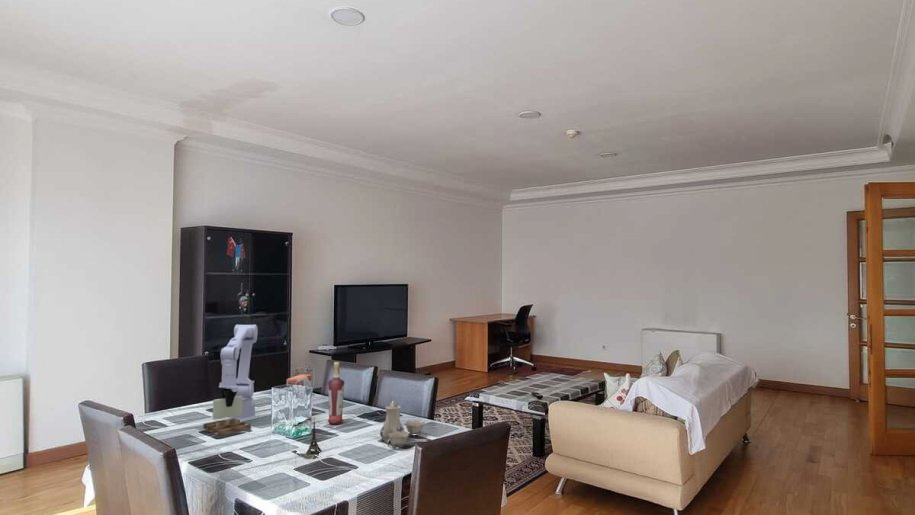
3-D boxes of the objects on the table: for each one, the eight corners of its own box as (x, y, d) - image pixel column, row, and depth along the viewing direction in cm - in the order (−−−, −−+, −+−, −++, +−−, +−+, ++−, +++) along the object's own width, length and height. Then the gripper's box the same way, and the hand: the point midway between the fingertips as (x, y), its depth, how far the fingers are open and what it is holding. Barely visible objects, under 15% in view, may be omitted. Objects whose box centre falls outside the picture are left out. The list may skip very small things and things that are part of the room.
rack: (234, 423, 242) (235, 417, 242) (250, 430, 231) (251, 424, 231) (203, 429, 232) (203, 423, 232) (218, 437, 221) (218, 430, 221)
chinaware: (406, 456, 205) (411, 413, 206) (366, 448, 209) (371, 406, 209) (426, 436, 233) (430, 398, 233) (390, 429, 236) (394, 392, 237)
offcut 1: (227, 428, 232) (227, 420, 233) (228, 428, 231) (229, 421, 232) (215, 430, 229) (216, 422, 229) (217, 431, 228) (217, 423, 228)
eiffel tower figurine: (290, 452, 205) (291, 417, 205) (313, 447, 212) (314, 413, 212) (310, 462, 194) (311, 425, 195) (334, 456, 201) (335, 420, 202)
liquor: (341, 425, 241) (342, 363, 242) (325, 425, 241) (326, 363, 243) (345, 421, 249) (346, 361, 250) (329, 420, 249) (331, 360, 250)
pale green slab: (239, 414, 236) (240, 395, 237) (242, 414, 235) (242, 396, 235) (212, 418, 228) (213, 399, 228) (214, 419, 226) (215, 400, 227)
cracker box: (296, 426, 239) (297, 379, 240) (284, 425, 240) (285, 378, 241) (311, 418, 253) (312, 374, 254) (299, 417, 254) (300, 373, 255)
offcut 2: (236, 425, 237) (237, 417, 237) (238, 425, 236) (238, 418, 236) (225, 427, 234) (225, 419, 234) (227, 428, 233) (227, 420, 233)
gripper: (212, 373, 234) (211, 404, 234) (227, 377, 224) (225, 410, 224) (228, 371, 239) (227, 402, 239) (243, 375, 229) (242, 407, 229)
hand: (227, 406), depth 232 cm, fingers closed on pale green slab, 2 cm apart
